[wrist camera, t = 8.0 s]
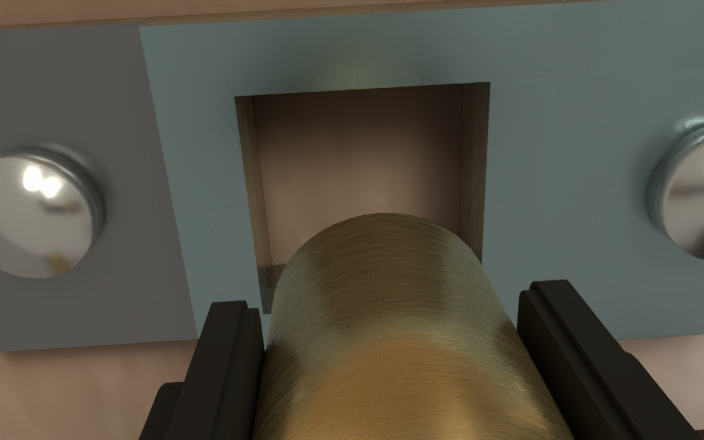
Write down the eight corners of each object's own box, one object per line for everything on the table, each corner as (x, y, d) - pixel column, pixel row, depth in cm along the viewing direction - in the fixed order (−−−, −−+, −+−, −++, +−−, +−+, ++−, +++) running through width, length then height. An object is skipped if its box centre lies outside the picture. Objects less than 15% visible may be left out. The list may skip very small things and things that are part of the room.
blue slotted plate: (170, 16, 16) (125, 31, 13) (803, -19, 17) (939, -15, 13) (220, 312, 20) (197, 389, 17) (729, 280, 21) (816, 347, 17)
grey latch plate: (-109, 31, 16) (-181, 43, 14) (535, -5, 16) (569, 1, 14) (-3, 327, 20) (-45, 373, 18) (513, 294, 20) (537, 335, 18)
